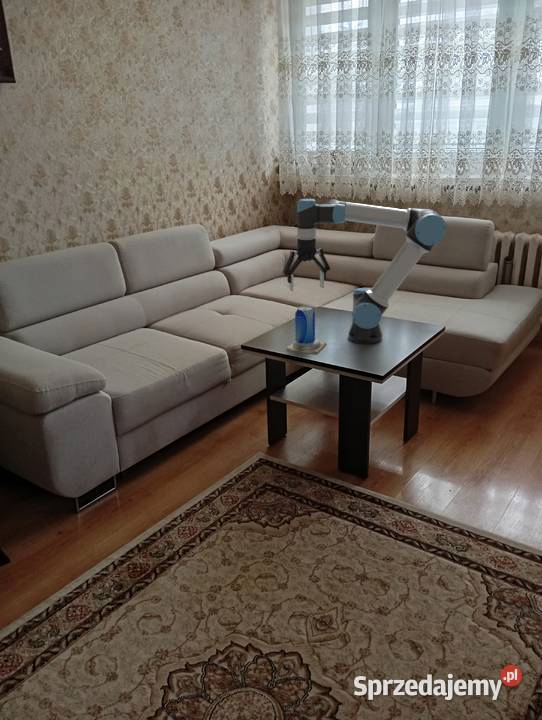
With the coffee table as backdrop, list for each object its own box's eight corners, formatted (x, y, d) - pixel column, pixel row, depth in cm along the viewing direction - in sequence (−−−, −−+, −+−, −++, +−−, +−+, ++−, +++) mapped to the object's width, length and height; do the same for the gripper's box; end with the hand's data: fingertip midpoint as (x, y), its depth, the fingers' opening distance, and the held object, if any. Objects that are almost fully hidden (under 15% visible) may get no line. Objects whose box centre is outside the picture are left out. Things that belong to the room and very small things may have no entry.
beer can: (318, 344, 263) (318, 309, 257) (301, 348, 260) (301, 312, 254) (308, 339, 270) (308, 304, 264) (292, 342, 267) (291, 307, 261)
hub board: (326, 344, 269) (326, 340, 268) (317, 353, 259) (317, 349, 258) (296, 341, 274) (296, 336, 274) (286, 350, 264) (286, 345, 263)
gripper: (331, 234, 256) (330, 283, 264) (274, 239, 249) (275, 289, 257) (338, 237, 249) (337, 287, 257) (280, 242, 243) (281, 293, 250)
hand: (306, 288), depth 257 cm, fingers open, 13 cm apart
